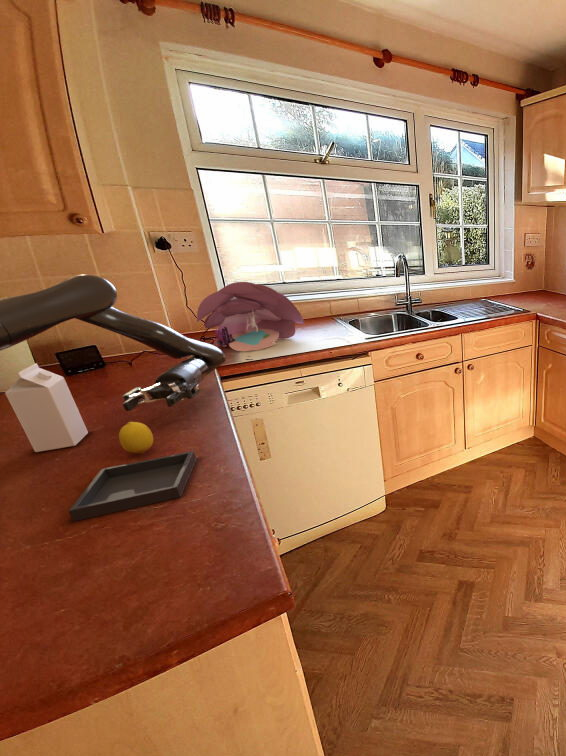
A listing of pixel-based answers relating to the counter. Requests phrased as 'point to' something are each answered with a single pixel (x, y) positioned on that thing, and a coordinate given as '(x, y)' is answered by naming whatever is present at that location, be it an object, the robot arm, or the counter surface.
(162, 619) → the counter surface
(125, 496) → the dark grey tray
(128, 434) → the lemon
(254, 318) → the purple shell playset
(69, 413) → the milk carton
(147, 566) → the counter surface
